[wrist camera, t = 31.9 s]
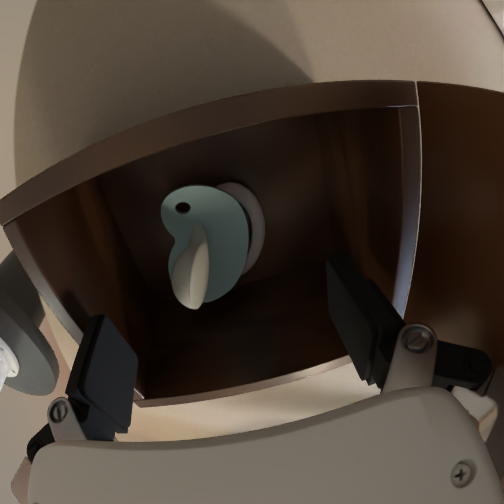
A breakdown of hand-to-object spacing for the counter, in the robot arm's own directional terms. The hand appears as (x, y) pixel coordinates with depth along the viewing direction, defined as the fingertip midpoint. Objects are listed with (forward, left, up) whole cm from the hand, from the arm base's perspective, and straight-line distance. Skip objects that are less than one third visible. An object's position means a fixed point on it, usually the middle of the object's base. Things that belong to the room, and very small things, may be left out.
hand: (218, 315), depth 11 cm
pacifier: (0, 0, -8) cm, 8 cm away
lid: (+8, +1, +9) cm, 12 cm away
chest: (+1, +1, -8) cm, 8 cm away
